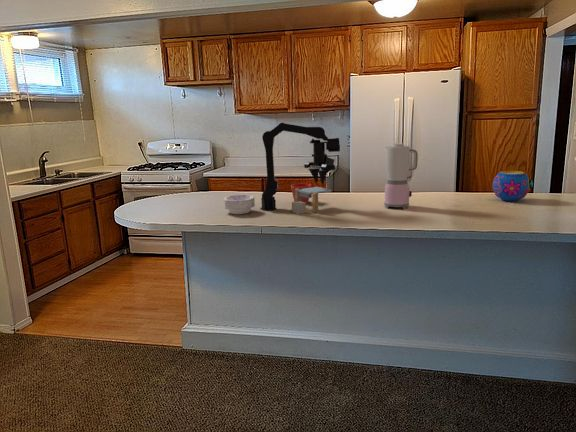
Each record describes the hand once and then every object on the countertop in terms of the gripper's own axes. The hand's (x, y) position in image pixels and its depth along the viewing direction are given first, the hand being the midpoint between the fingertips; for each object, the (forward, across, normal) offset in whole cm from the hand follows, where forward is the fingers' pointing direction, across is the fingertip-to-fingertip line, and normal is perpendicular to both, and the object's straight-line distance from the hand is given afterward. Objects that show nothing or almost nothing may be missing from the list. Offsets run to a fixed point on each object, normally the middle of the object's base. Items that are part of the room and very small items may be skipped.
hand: (319, 182), depth 225 cm
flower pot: (+13, +18, -1) cm, 22 cm away
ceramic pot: (+13, -51, -87) cm, 102 cm away
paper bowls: (+13, +18, +37) cm, 43 cm away
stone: (+13, -1, +14) cm, 19 cm away
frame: (+13, 0, +8) cm, 15 cm away
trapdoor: (+6, 0, +3) cm, 7 cm away
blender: (+13, -25, -32) cm, 43 cm away
